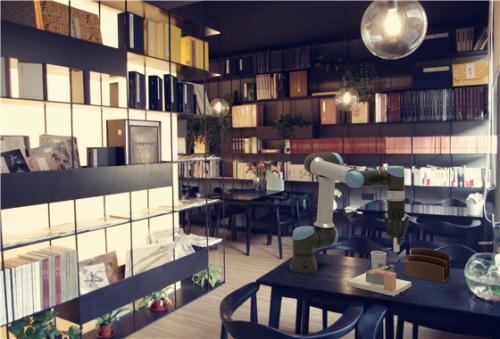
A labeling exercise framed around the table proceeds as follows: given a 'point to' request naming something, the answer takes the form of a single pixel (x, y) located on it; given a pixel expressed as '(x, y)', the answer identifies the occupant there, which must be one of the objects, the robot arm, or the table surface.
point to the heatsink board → (378, 287)
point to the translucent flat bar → (379, 269)
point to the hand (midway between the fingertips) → (396, 251)
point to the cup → (378, 258)
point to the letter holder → (428, 265)
